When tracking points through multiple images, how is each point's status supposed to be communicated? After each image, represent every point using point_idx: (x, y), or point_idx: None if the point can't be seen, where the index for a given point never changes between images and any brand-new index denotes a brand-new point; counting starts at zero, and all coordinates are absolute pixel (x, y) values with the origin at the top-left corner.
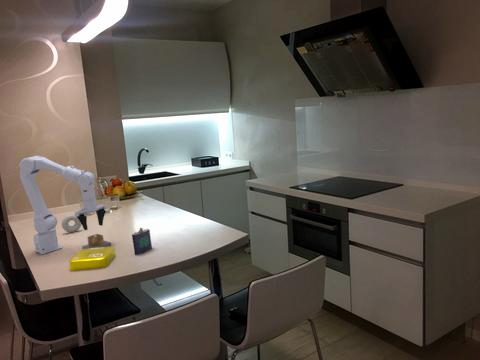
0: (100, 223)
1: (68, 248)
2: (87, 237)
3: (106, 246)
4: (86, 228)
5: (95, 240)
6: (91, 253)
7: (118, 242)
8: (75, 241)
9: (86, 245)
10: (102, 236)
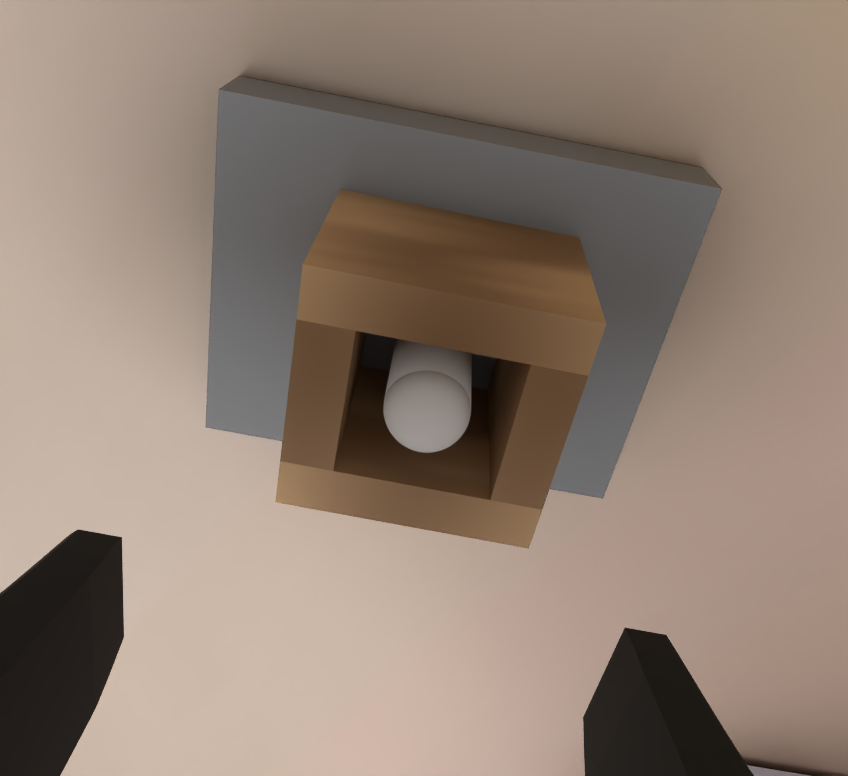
0: (91, 622)
1: None
2: (529, 536)
3: (352, 99)
4: (678, 670)
5: (538, 280)
6: None
7: (32, 70)
8: (356, 766)
9: None
10: (326, 255)
